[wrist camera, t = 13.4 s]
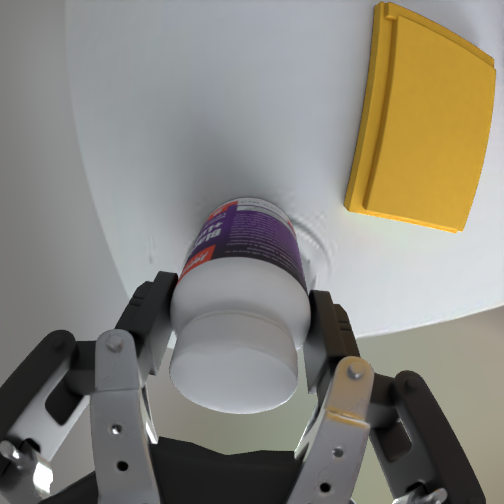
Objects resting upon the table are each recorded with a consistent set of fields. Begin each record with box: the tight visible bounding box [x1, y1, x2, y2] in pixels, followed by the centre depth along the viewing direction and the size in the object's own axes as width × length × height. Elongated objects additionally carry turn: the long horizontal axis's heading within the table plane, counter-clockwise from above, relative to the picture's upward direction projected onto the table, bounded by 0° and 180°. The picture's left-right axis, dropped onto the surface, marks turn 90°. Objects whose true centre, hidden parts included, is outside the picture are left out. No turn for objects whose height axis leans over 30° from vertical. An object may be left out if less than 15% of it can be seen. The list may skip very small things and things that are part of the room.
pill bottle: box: [169, 198, 311, 414], centre depth 12 cm, size 5×5×10 cm
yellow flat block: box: [344, 2, 496, 233], centre depth 12 cm, size 8×12×2 cm, turn 173°
